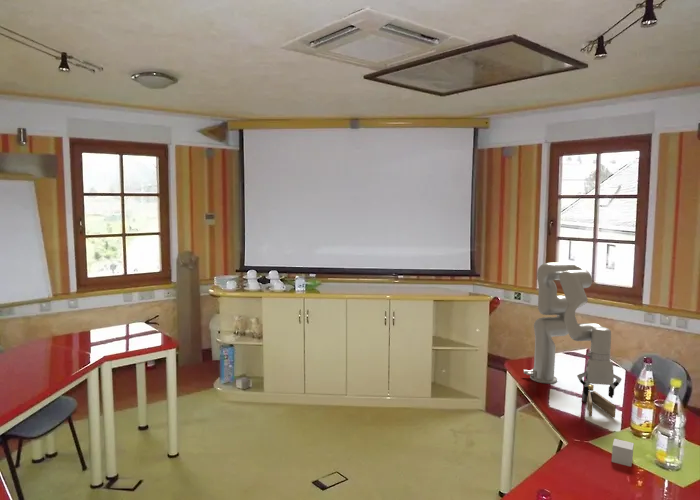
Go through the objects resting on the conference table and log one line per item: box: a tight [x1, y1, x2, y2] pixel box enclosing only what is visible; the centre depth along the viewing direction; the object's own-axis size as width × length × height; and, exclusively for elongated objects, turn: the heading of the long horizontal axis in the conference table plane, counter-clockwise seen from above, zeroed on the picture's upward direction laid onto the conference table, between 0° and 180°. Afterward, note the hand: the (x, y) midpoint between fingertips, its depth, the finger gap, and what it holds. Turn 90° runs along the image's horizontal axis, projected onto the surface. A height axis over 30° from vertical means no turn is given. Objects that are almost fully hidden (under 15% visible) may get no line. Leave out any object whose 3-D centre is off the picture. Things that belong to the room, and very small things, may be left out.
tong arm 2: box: [592, 390, 617, 419], centre depth 217 cm, size 1×16×5 cm, turn 2°
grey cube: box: [611, 438, 635, 467], centre depth 175 cm, size 6×6×6 cm
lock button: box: [588, 383, 595, 392], centre depth 227 cm, size 3×3×2 cm
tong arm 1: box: [586, 391, 594, 417], centre depth 218 cm, size 1×16×5 cm, turn 158°
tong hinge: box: [581, 391, 594, 404], centre depth 228 cm, size 5×3×4 cm, turn 80°
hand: (598, 396), depth 216 cm, fingers open, 9 cm apart
